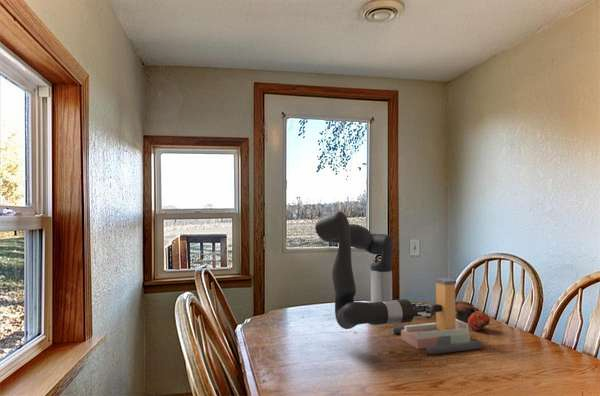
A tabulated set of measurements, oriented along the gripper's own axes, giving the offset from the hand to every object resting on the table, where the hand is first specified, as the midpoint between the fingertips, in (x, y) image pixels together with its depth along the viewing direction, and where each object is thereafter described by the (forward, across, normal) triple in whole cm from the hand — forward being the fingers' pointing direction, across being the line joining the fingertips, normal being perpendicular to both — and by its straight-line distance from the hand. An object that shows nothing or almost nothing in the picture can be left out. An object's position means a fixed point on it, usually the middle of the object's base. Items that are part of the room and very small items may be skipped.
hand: (440, 307), depth 131 cm
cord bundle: (-2, +10, +11) cm, 15 cm away
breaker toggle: (+2, 0, +8) cm, 8 cm away
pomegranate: (+20, +4, +11) cm, 23 cm away
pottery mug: (+24, +17, +11) cm, 31 cm away
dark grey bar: (-2, -10, +11) cm, 15 cm away
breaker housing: (-2, 0, +11) cm, 11 cm away
